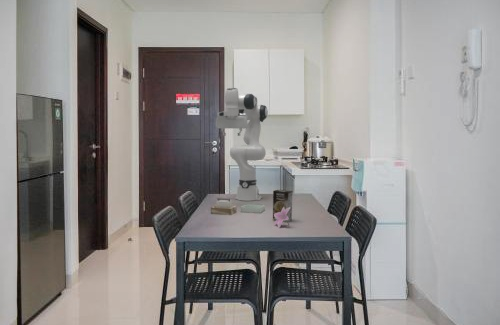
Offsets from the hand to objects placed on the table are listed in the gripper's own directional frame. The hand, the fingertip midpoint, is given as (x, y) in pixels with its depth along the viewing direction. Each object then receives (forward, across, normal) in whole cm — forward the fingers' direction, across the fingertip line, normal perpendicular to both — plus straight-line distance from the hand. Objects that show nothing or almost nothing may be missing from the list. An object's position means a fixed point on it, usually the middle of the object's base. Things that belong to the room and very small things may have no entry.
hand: (231, 135), depth 263 cm
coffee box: (+46, -35, +34) cm, 67 cm away
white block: (+46, +1, +18) cm, 49 cm away
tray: (+46, -16, +10) cm, 49 cm away
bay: (+46, +1, +18) cm, 49 cm away
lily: (+47, -36, +48) cm, 76 cm away
